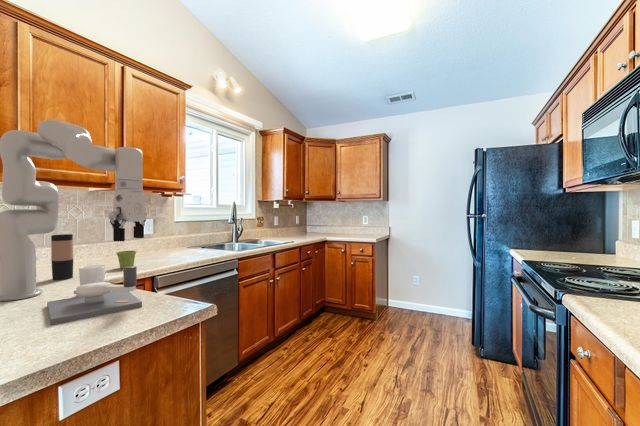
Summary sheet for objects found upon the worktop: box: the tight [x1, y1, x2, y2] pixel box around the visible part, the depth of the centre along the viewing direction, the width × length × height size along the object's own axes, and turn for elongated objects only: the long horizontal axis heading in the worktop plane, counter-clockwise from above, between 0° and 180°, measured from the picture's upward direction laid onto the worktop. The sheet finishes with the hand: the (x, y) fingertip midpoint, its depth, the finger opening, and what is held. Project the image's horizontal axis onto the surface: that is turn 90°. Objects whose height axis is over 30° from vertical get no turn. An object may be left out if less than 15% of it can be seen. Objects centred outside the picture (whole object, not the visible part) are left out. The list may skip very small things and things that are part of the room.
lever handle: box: [73, 265, 138, 297], centre depth 98 cm, size 20×10×8 cm, turn 88°
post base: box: [46, 291, 143, 326], centre depth 98 cm, size 22×22×4 cm
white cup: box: [78, 264, 106, 286], centre depth 114 cm, size 8×8×10 cm
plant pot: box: [115, 250, 137, 270], centre depth 163 cm, size 9×9×9 cm
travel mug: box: [50, 233, 74, 281], centre depth 138 cm, size 8×8×20 cm
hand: (129, 239), depth 98 cm, fingers open, 9 cm apart
